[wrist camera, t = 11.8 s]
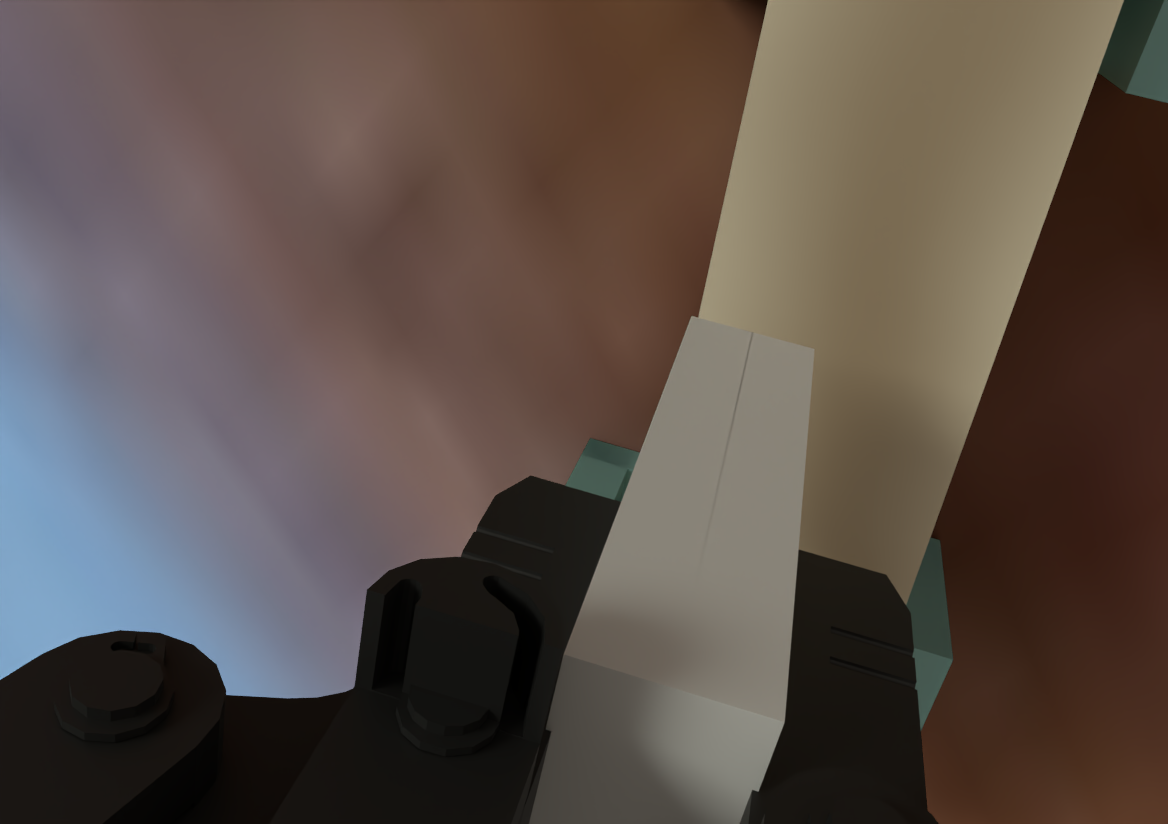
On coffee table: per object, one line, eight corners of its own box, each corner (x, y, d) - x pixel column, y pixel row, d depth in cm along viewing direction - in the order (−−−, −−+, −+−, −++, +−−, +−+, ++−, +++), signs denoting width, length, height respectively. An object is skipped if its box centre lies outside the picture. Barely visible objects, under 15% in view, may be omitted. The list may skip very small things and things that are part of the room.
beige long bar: (647, 615, 24) (596, 777, 19) (837, -221, 17) (826, -266, 12) (829, 665, 23) (819, 844, 19) (1108, -178, 16) (1199, -208, 12)
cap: (544, 637, 26) (493, 754, 22) (589, 438, 23) (539, 533, 20) (857, 737, 25) (855, 875, 21) (939, 540, 22) (952, 660, 19)
